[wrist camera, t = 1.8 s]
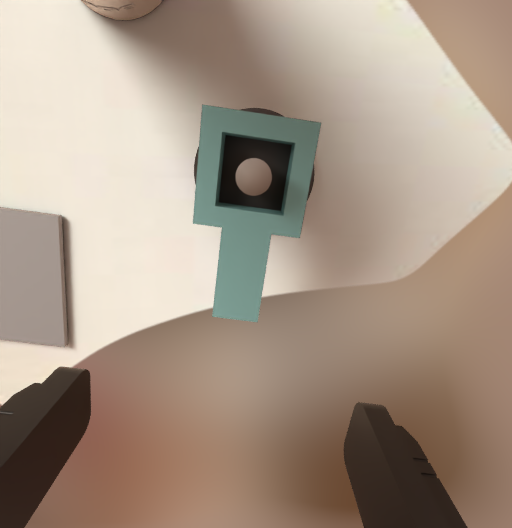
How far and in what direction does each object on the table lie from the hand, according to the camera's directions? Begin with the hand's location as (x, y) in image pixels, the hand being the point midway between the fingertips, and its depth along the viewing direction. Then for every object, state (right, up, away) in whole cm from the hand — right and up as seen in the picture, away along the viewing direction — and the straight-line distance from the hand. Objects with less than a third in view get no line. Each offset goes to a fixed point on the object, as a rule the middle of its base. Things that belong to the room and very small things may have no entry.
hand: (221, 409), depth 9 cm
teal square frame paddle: (0, +7, +11) cm, 13 cm away
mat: (-23, +3, +22) cm, 32 cm away
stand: (+1, +13, +19) cm, 23 cm away
